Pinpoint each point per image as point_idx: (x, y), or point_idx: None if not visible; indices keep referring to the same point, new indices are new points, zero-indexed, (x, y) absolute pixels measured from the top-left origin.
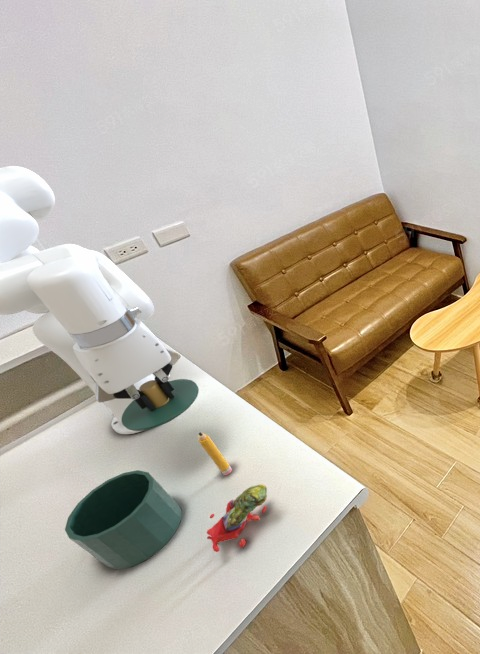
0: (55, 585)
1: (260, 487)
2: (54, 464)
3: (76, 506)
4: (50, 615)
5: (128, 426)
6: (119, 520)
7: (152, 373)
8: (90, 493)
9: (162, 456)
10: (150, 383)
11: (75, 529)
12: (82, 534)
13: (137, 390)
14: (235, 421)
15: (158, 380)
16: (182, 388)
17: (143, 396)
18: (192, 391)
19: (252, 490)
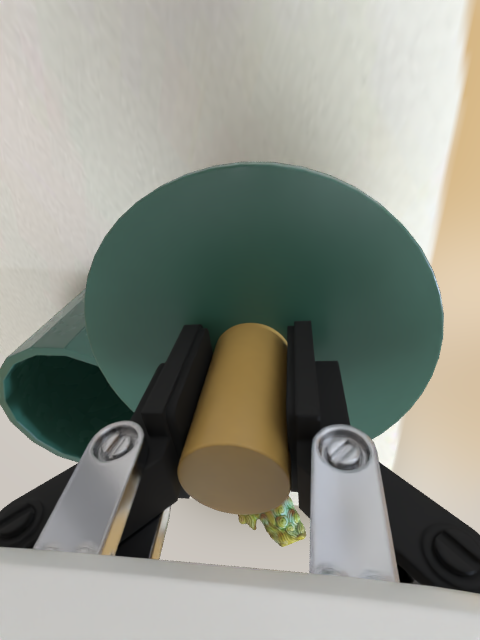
0: (14, 301)
1: (298, 540)
2: None
3: (5, 363)
4: (19, 341)
5: (111, 379)
6: None
7: (311, 482)
8: (29, 356)
9: (200, 146)
10: (252, 480)
11: (18, 385)
12: (34, 369)
13: (164, 486)
14: (394, 204)
15: (303, 507)
16: (371, 351)
17: (186, 496)
18: (383, 409)
19: (286, 542)
